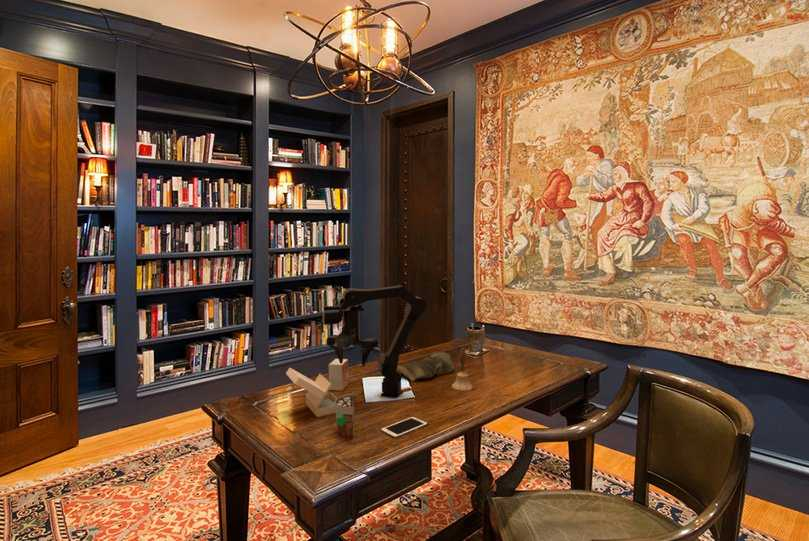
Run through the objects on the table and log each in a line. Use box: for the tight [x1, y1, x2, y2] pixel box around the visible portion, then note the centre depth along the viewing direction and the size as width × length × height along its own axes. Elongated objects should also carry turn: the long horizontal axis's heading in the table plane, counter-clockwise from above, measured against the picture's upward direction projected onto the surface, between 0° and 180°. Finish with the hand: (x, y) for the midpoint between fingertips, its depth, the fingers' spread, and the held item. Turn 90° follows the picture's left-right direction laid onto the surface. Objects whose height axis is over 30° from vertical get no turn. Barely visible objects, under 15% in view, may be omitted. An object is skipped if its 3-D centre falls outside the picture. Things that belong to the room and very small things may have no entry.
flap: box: [285, 367, 332, 408], centre depth 159 cm, size 9×12×12 cm
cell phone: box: [379, 416, 429, 439], centre depth 147 cm, size 8×15×1 cm, turn 132°
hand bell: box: [451, 347, 474, 392], centre depth 182 cm, size 8×8×16 cm
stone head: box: [397, 351, 455, 383], centre depth 202 cm, size 19×8×28 cm
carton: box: [305, 391, 338, 418], centre depth 163 cm, size 10×12×3 cm
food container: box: [333, 393, 355, 439], centre depth 144 cm, size 12×6×10 cm, turn 5°
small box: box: [328, 358, 349, 392], centre depth 183 cm, size 8×6×10 cm
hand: (352, 364), depth 170 cm, fingers open, 9 cm apart
